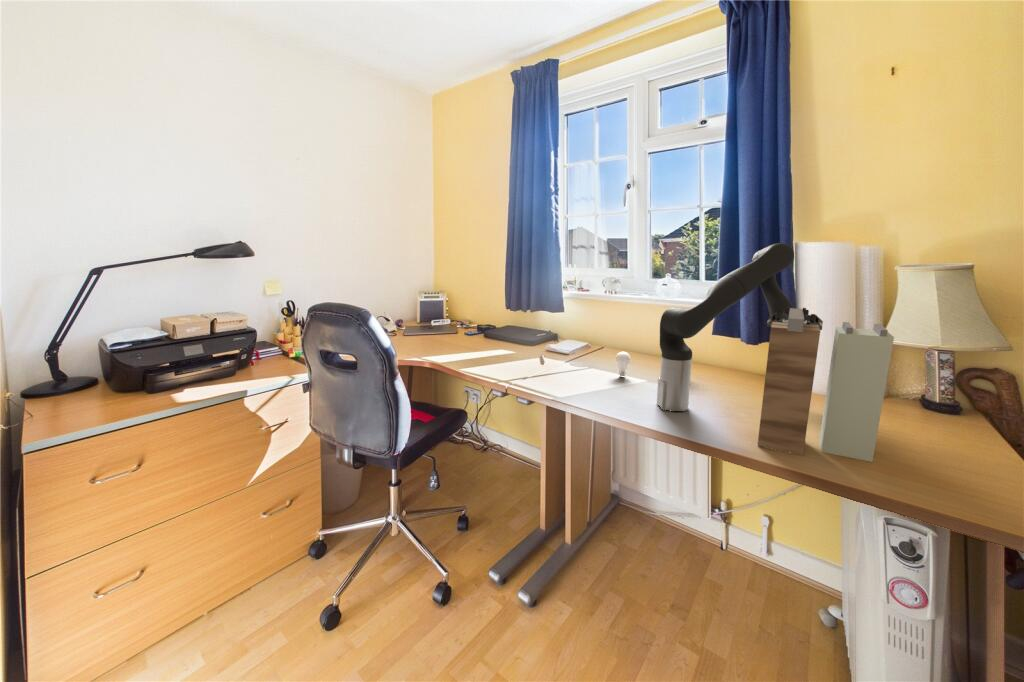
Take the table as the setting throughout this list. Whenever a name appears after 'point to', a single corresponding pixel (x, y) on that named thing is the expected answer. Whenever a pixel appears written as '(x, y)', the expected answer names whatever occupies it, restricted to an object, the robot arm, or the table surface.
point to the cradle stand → (855, 391)
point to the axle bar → (795, 320)
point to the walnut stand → (788, 387)
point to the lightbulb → (622, 362)
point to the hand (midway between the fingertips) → (796, 310)
